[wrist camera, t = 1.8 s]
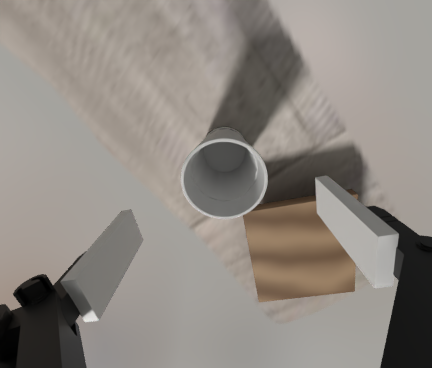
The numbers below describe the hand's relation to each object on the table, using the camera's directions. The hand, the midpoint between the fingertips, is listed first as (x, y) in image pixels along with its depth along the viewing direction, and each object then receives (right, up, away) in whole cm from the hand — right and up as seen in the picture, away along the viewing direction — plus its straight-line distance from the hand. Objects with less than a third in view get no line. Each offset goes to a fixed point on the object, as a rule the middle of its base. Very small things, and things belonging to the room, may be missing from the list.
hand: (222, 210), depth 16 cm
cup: (+1, +7, +16) cm, 17 cm away
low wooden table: (+12, -5, +20) cm, 24 cm away
